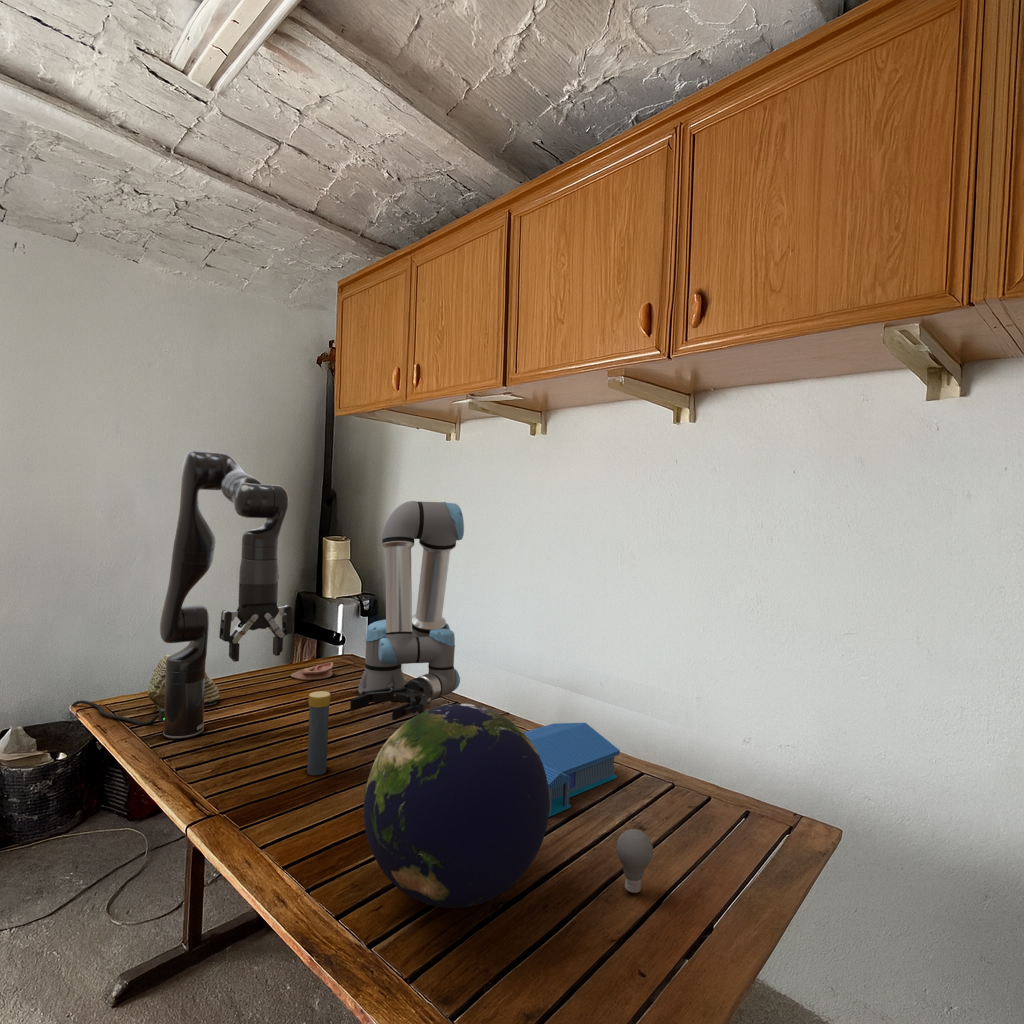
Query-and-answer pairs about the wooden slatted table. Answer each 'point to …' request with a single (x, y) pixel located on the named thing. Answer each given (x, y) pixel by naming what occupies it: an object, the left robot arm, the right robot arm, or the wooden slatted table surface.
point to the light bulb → (634, 857)
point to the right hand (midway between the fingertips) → (371, 709)
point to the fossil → (158, 687)
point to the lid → (319, 699)
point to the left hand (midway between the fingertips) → (256, 657)
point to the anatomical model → (314, 672)
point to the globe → (456, 806)
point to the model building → (572, 760)
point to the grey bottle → (317, 740)
